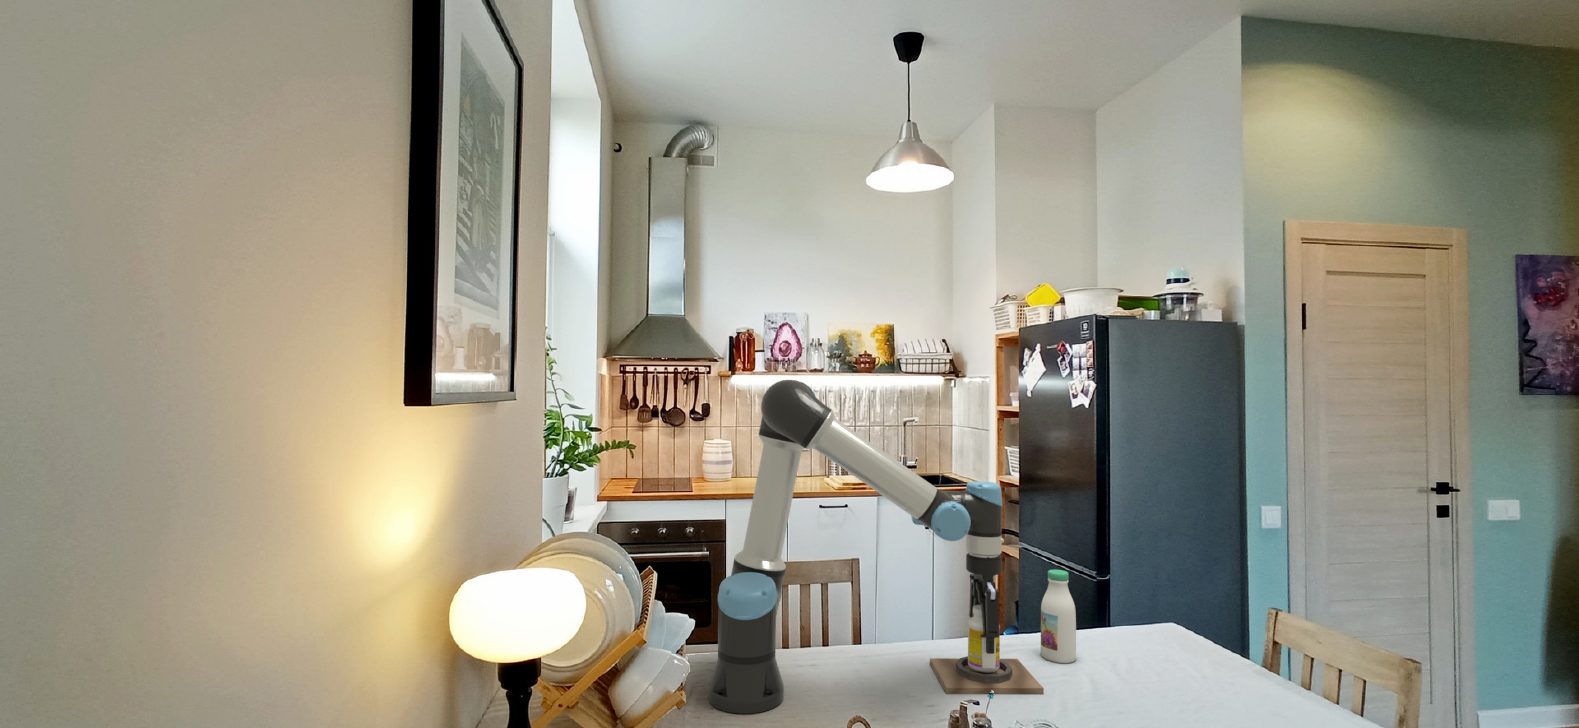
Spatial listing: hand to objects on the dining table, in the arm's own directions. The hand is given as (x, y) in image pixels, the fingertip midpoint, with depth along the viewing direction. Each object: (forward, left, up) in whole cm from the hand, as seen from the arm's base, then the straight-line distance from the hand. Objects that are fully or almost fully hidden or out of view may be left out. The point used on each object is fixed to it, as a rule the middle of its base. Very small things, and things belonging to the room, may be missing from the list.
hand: (983, 660), depth 155 cm
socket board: (0, 0, -4) cm, 4 cm away
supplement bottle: (0, 0, -2) cm, 2 cm away
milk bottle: (+21, +12, -4) cm, 25 cm away
